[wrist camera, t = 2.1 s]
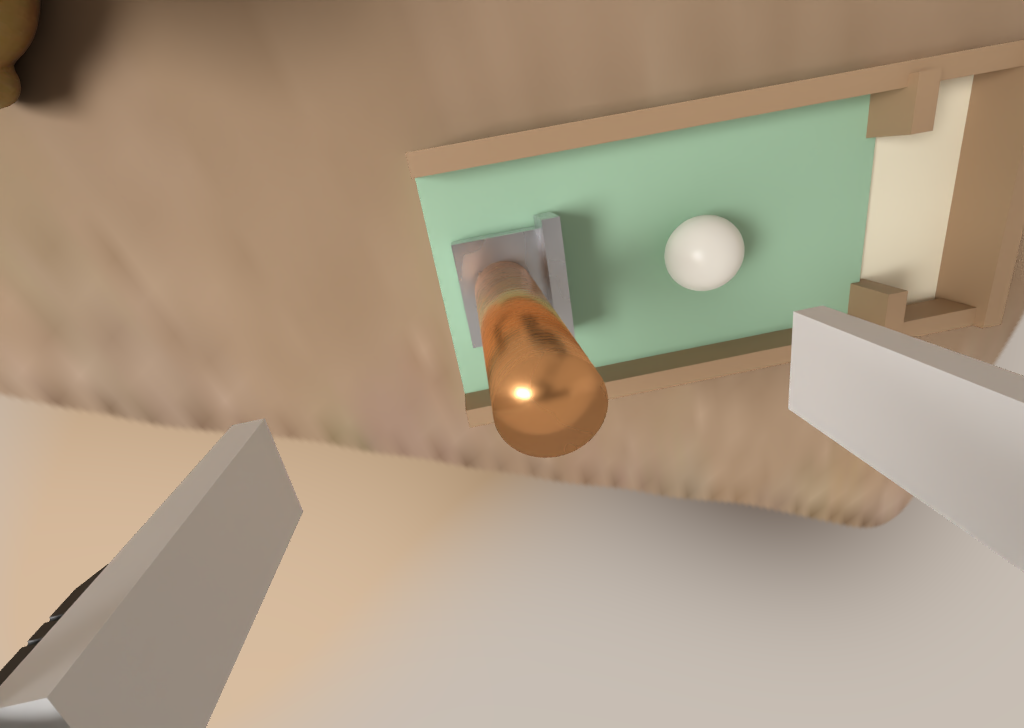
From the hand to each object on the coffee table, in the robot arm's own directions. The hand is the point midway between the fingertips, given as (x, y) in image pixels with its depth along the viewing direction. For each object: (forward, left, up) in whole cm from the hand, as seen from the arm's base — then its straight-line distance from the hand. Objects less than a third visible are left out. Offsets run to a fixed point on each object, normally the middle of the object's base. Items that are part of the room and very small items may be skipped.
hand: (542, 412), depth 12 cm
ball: (0, +10, -11) cm, 15 cm away
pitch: (0, +11, -14) cm, 18 cm away
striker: (0, +1, -13) cm, 13 cm away
